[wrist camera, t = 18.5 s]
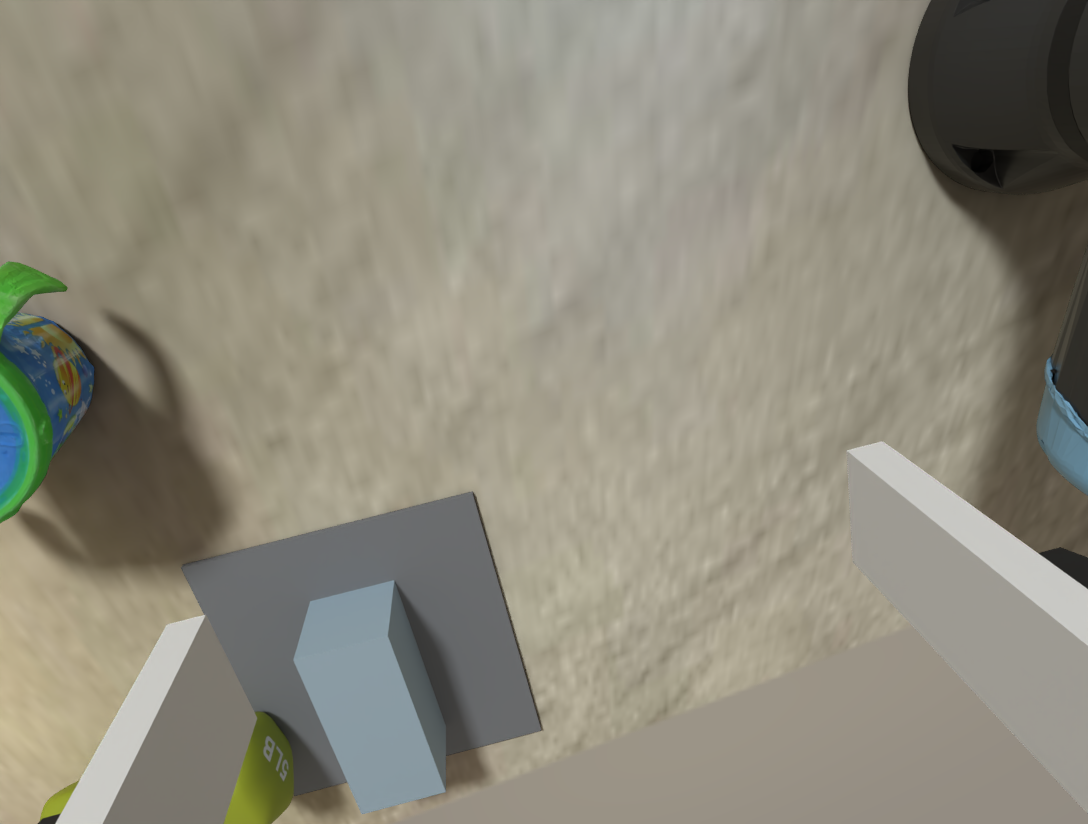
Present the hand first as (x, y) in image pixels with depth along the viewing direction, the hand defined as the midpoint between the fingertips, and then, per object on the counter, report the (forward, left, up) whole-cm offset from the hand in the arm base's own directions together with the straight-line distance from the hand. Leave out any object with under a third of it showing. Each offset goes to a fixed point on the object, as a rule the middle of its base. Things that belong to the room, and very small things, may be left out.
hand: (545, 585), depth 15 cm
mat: (+14, +25, -32) cm, 43 cm away
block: (+14, +33, -28) cm, 46 cm away
